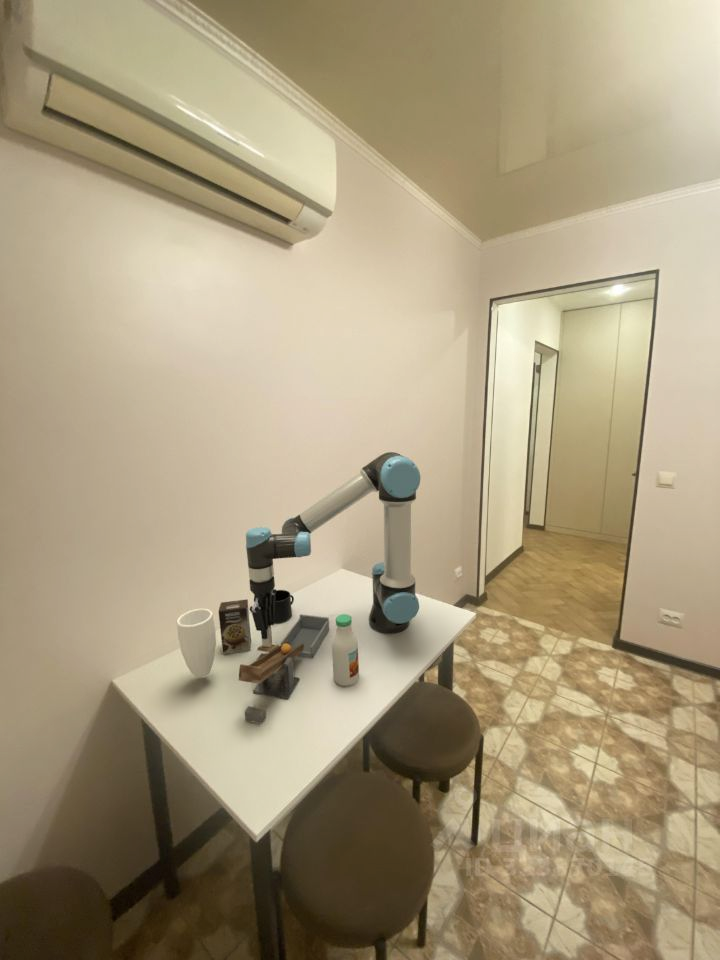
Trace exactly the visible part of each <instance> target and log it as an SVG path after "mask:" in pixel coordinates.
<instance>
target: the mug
mask: <svg viewBox="0 0 720 960" xmlns="http://www.w3.org/2000/svg"><path fill="white" fill-rule="evenodd" d="M294 600H295V597H294V596H293V594H291V593H290V592H289V591H288V590H285V589H276V596H275V618H274V620H272V622H274V624H280V623H284V622H287V621H289V620H290V619H291V618H292V614H293V613H292V605H293V604H294Z"/></svg>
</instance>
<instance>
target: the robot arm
mask: <svg viewBox="0 0 720 960" xmlns="http://www.w3.org/2000/svg"><path fill="white" fill-rule="evenodd" d="M420 484H421V472H420V470H419V468H418V466H417V465H416V463H415V462H413V460H411V459H410V458H408V457H407V456H403V455H401V454H400V453H398V452H392V451H391V452H390V451H389V452H385V453H382V454H381V455H379V456H377V457H376V458H375V459H373V460H371V461H370V462H369V463H367V464H366V465H364V466H363V467H362V468H360V472H359V473H358V474H357V475H355V476H353V477H352V478H351V479H349V480H348V481H347V482H345V483H344V484H342V485H341V486H339V487H337V488H336V489H335V490H333V491H332V492H331V493H329V494H327V495H326V496H324V497H322V499H320V500H318V501H317V502H315V503H314V504H313V505H311V506H310V507H308V508H306V509H305V510H304V511H302V512H301V513H300V514H298V515H297V516H295V517H290V518H287V519H286V520H285V521H284V523H283V525H282V527H281V533H276V534H275V533H272V532H271V529H270V528H269V527H263V526H259V527H254V528H251V529H249V530H248V531H246V534H245V544H246V545H245V550H246V558H247V566H248V567H247V569H248V577H249V590H250V591H251V593H252V594H253V596H254V597H253V602H254V603H253V604H252V605H253V606H252V605H250V606H249V611H250V612H251V614H252V619H253V622H254V627H255V631H258V632H260V635H261V643H262V645H261V646H264V647H271V645H272V644H273V635H272V626H274V625H275V623H274V622H272V620H274V618H275V596H276V590H277V589H276V588H275V586H276V584H275V583H276V582H275V572H274V571H275V569H274V560H276V559H289V558H291V559H292V558H303V557H308V556H310V555H311V553H312V544H311V542H312V541H311V534H312V533H313V532H314V531H316V530H317V529H319V528H320V527H322V526H323V525H325V524H327V523H328V522H329V521H331V520H332V519H334V518H335V517H336V516H338V515H340V514H341V513H343V512H344V511H345V510H348V509H349V508H350V507H352V506H353V505H354V504H356V503H357V502H360V500H362V499H364V498H365V497H367V496H368V495H369V494H370V493H372V492H375V493H377V492H378V500H379V501H380V502H382V504H383V537H384V538H383V548H384V549H383V553H384V554H383V555H384V556H383V557H384V558H383V559H384V561H383V562H378V563H376V564H374V565H373V567H372V570H371V571H372V572H371V576H372V579H371V580H372V601H373V602H372V605H371V606H372V607H371V608H370V612H369V615H368V624H369V627H370V628H372V629H373V630H374V631H376V632H379V633H383V634H397V633H401V632H403V631H405V630H406V629H407V628H408V627H409V626H410V621H411V620H412V619H413V618H415V617H416V616H417V614H418V613H419V609H420V601H419V598H418V597H417V595H416V578H415V576H414V575H413V574H412V572H411V570H412V569H411V568H412V563H411V561H412V560H411V559H412V557H411V556H412V550H411V549H412V504H413V503H414V502H415V501H416V499H417V491H418V489H419V487H420Z"/></svg>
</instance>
